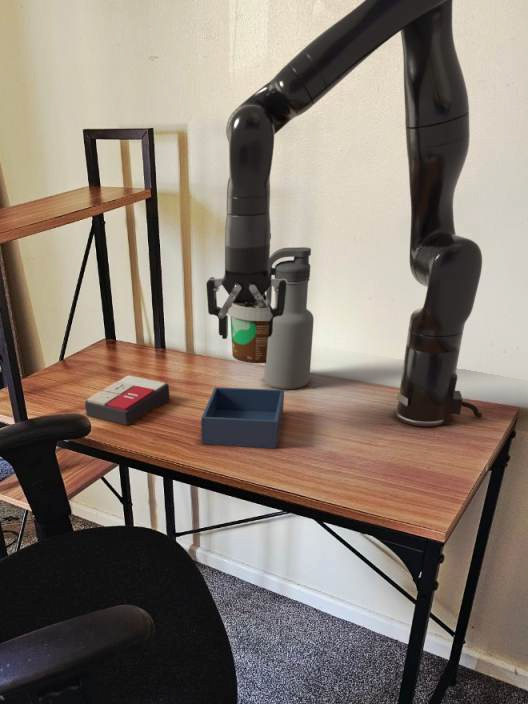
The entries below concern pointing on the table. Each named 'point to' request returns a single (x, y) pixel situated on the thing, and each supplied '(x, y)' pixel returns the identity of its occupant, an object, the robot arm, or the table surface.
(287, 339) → the water bottle
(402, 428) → the table surface
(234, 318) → the food container
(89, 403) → the calculator
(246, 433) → the tote
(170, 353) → the table surface
